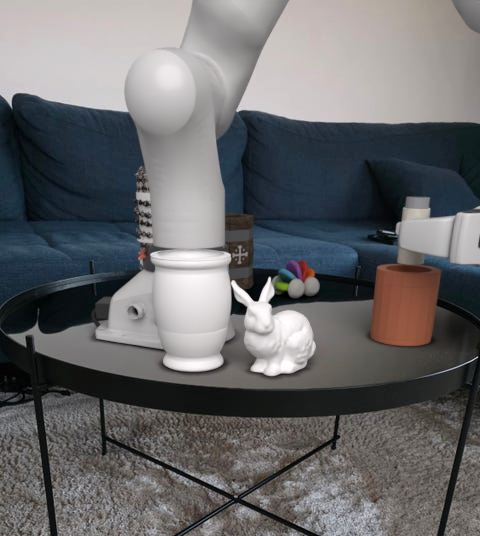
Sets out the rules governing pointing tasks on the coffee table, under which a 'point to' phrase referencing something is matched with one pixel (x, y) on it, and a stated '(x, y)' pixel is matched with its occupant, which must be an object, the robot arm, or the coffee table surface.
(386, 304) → the terracotta jar
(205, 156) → the robot arm
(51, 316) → the coffee table surface
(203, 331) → the jar
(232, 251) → the mug
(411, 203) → the salt shaker
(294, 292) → the rainbow wheeled toy
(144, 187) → the decorative candle
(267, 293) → the rabbit
